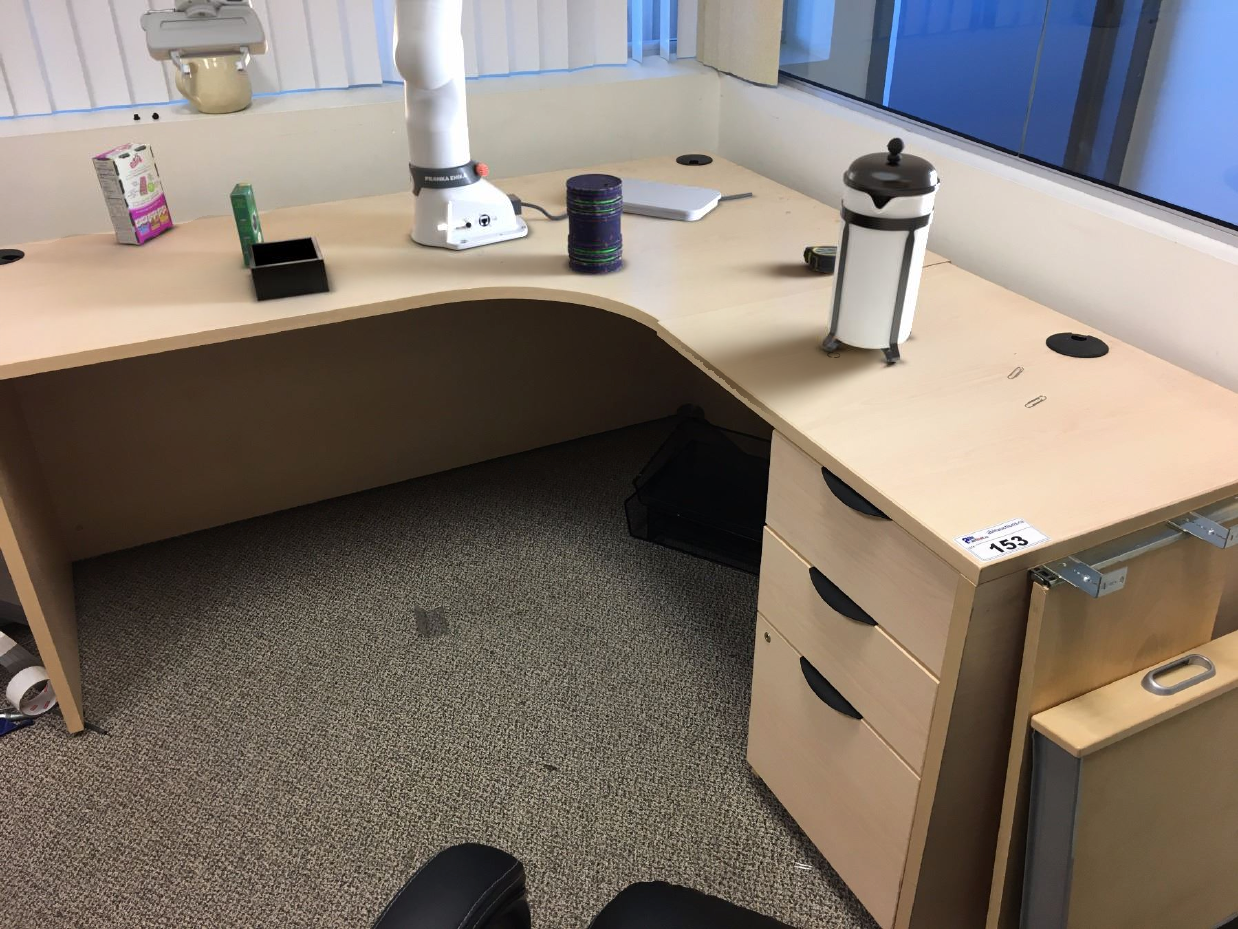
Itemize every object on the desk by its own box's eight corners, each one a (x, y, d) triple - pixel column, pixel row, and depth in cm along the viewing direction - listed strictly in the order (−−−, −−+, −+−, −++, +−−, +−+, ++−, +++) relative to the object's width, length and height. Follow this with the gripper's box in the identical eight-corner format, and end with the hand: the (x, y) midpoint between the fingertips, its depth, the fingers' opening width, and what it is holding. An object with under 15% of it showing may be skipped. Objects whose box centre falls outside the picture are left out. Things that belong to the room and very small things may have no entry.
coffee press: (943, 356, 137) (986, 146, 121) (845, 371, 134) (875, 155, 117) (883, 311, 151) (913, 117, 135) (792, 323, 148) (813, 125, 131)
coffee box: (250, 252, 176) (235, 181, 168) (266, 251, 176) (252, 180, 169) (244, 267, 169) (228, 194, 162) (261, 266, 169) (245, 193, 162)
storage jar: (556, 265, 169) (553, 181, 161) (594, 251, 175) (593, 170, 167) (596, 279, 164) (594, 193, 156) (634, 264, 170) (634, 181, 162)
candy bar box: (152, 225, 189) (128, 141, 180) (174, 227, 188) (152, 142, 179) (116, 244, 180) (90, 156, 171) (139, 245, 179) (114, 158, 170)
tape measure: (839, 262, 170) (841, 242, 168) (850, 276, 164) (852, 255, 162) (802, 263, 170) (804, 243, 168) (811, 277, 164) (814, 256, 162)
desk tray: (320, 266, 169) (315, 235, 166) (329, 291, 159) (323, 259, 156) (253, 275, 166) (246, 244, 163) (257, 301, 156) (250, 268, 153)
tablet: (696, 223, 189) (697, 212, 187) (582, 206, 198) (581, 195, 197) (724, 201, 201) (725, 190, 200) (615, 186, 211) (615, 176, 209)
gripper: (134, -2, 165) (148, 67, 162) (256, -7, 171) (271, 59, 169) (142, 22, 171) (155, 89, 168) (260, 16, 177) (274, 81, 174)
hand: (214, 74), depth 168 cm, fingers open, 8 cm apart
